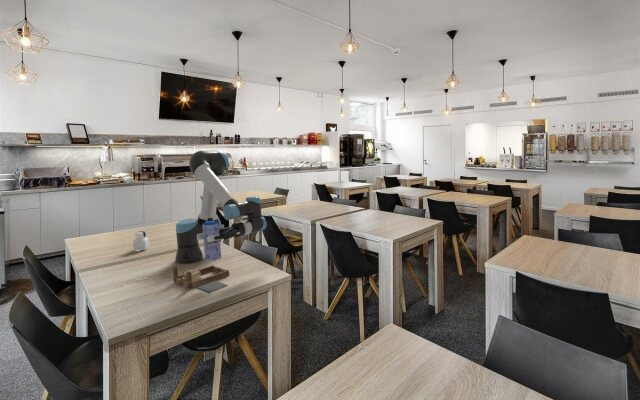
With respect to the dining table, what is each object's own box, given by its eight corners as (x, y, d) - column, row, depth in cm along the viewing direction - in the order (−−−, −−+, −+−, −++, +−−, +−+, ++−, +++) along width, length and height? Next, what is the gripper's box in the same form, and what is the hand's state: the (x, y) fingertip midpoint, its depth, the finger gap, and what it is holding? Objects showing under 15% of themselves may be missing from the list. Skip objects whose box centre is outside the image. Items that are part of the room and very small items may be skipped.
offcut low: (182, 283, 168) (182, 277, 168) (194, 279, 173) (193, 273, 172) (190, 286, 164) (189, 280, 163) (201, 282, 168) (201, 277, 168)
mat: (196, 287, 161) (196, 286, 161) (215, 281, 169) (215, 280, 169) (208, 292, 155) (208, 292, 155) (227, 285, 163) (227, 284, 163)
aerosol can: (204, 261, 163) (200, 220, 160) (204, 256, 171) (201, 217, 168) (221, 259, 165) (218, 218, 162) (221, 255, 173) (218, 215, 170)
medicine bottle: (138, 248, 230) (136, 230, 229) (149, 247, 231) (147, 230, 229) (134, 251, 223) (132, 233, 222) (145, 250, 224) (143, 232, 222)
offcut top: (183, 277, 167) (183, 272, 167) (191, 274, 172) (191, 269, 171) (193, 279, 165) (192, 274, 164) (200, 276, 169) (200, 271, 169)
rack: (174, 282, 168) (172, 266, 167) (213, 269, 185) (212, 255, 184) (189, 289, 160) (188, 272, 159) (229, 275, 177) (228, 260, 175)
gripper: (254, 238, 175) (216, 249, 157) (229, 233, 187) (191, 243, 169) (253, 223, 173) (214, 233, 156) (228, 219, 186) (189, 228, 168)
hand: (202, 238), depth 162 cm, fingers closed on aerosol can, 7 cm apart
